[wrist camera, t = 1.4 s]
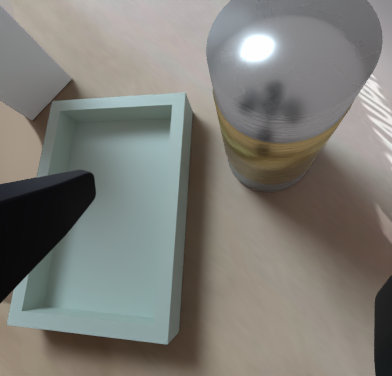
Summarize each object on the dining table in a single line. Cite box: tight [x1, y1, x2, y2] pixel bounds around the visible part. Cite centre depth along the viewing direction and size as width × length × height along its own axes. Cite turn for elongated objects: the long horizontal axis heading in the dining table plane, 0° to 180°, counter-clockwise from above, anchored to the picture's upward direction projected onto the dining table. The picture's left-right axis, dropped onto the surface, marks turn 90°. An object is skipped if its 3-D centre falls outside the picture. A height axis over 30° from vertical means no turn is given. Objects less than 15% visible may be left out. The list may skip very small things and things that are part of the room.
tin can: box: [206, 0, 382, 192], centre depth 16 cm, size 7×7×12 cm
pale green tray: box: [7, 93, 193, 345], centre depth 22 cm, size 18×12×3 cm, turn 177°
